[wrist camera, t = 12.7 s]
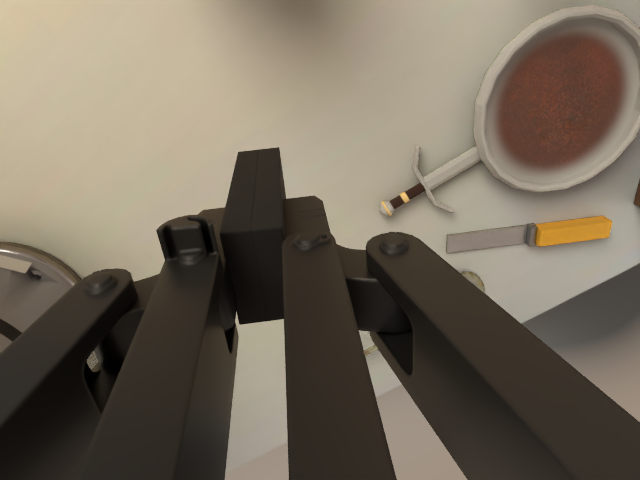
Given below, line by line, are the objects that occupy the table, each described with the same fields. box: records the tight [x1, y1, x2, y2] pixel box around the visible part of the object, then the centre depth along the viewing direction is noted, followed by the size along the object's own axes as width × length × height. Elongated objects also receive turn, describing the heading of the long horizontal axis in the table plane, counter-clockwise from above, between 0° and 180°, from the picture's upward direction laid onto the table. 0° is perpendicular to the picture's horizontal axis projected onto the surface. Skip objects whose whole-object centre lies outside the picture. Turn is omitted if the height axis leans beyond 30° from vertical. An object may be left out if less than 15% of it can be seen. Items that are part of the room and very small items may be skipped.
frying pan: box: [379, 5, 640, 216], centre depth 43 cm, size 17×3×28 cm
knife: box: [446, 216, 612, 253], centre depth 49 cm, size 18×2×2 cm, turn 96°
